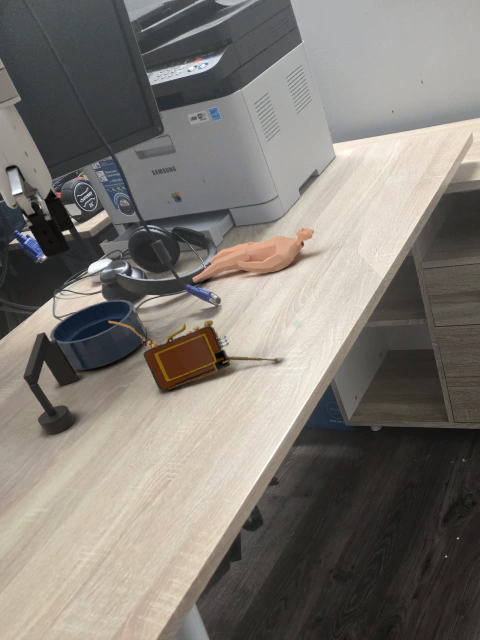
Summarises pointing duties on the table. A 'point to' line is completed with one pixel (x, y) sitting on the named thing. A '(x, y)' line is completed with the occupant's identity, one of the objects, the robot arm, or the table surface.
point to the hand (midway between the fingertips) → (61, 241)
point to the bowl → (99, 334)
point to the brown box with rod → (187, 356)
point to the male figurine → (257, 255)
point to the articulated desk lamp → (62, 371)
